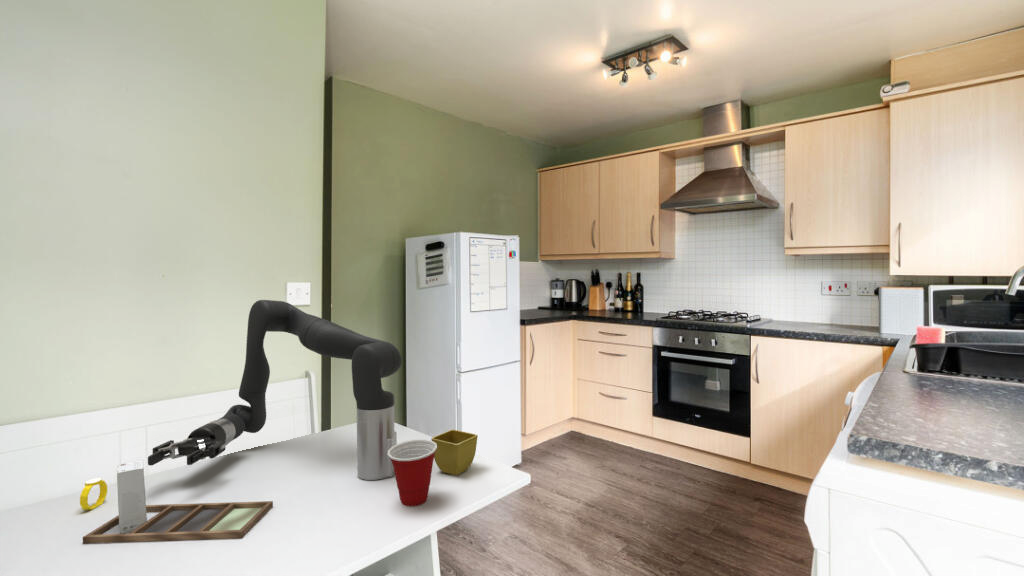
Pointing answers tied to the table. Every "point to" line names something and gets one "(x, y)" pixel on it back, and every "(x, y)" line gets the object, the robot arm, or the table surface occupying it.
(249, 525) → the divided wooden frame
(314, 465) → the table surface
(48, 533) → the table surface
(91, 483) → the watch
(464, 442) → the flower pot
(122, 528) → the skincare box
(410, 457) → the plastic cup
